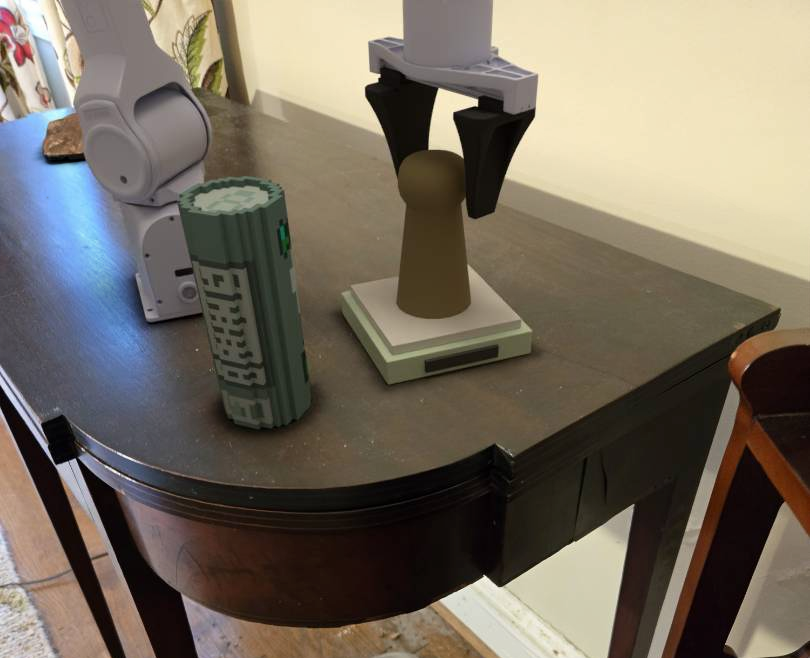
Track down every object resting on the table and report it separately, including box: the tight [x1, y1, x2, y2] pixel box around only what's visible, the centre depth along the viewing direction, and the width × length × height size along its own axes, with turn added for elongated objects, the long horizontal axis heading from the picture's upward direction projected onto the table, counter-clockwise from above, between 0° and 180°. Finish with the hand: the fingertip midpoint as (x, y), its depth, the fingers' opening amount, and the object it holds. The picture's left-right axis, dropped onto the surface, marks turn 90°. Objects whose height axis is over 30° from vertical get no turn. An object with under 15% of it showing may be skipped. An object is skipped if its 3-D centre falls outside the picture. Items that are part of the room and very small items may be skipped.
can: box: [177, 175, 312, 430], centre depth 52 cm, size 6×6×15 cm
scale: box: [340, 263, 534, 386], centre depth 63 cm, size 12×12×3 cm
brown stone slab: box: [41, 112, 86, 161], centre depth 99 cm, size 12×13×4 cm
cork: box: [396, 149, 471, 319], centre depth 58 cm, size 6×6×11 cm
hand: (445, 199), depth 57 cm, fingers open, 7 cm apart
